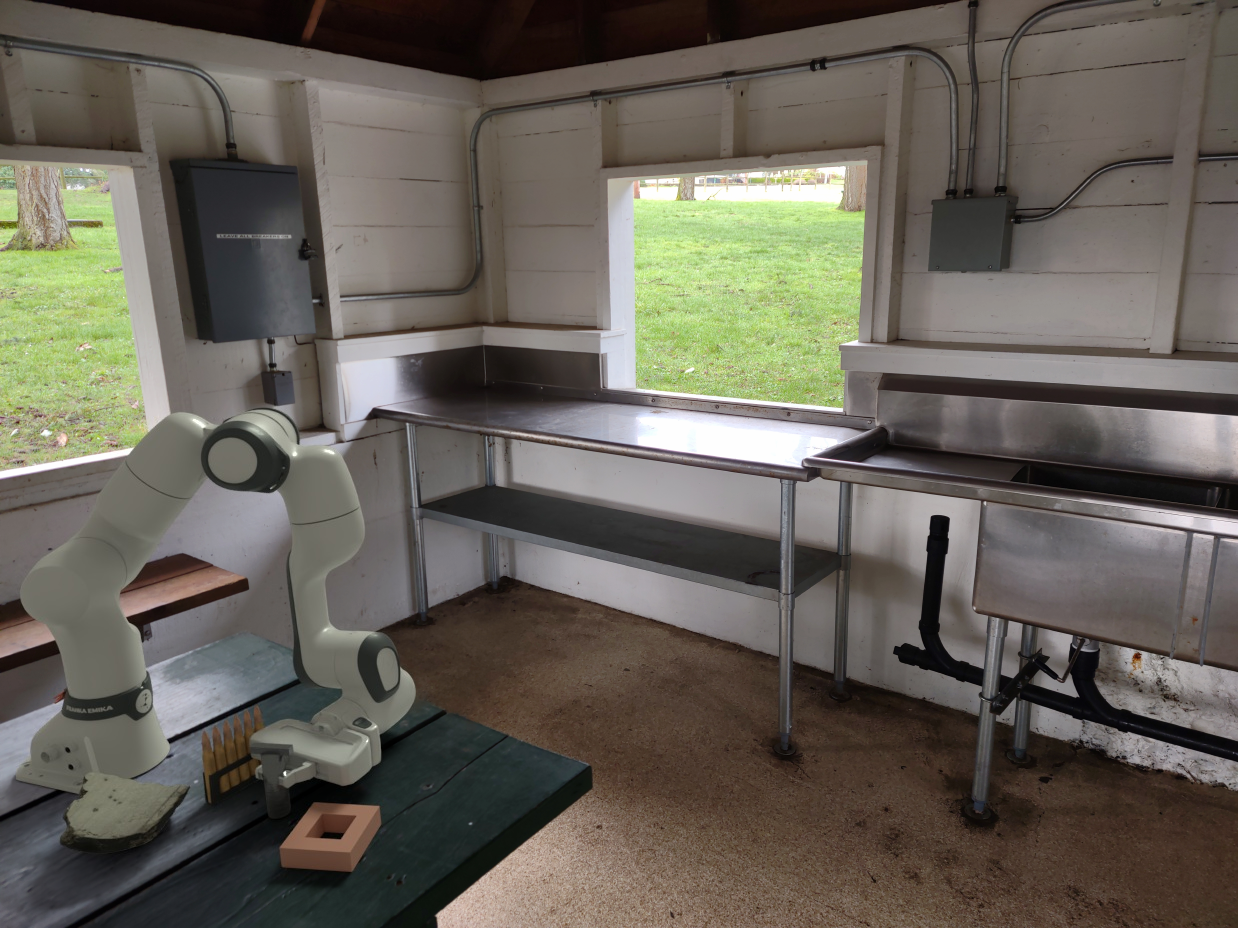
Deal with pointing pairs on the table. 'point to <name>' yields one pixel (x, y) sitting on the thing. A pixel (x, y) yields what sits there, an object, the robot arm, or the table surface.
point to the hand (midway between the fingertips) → (270, 778)
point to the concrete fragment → (118, 813)
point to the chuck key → (274, 776)
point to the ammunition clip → (230, 759)
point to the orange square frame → (331, 853)
